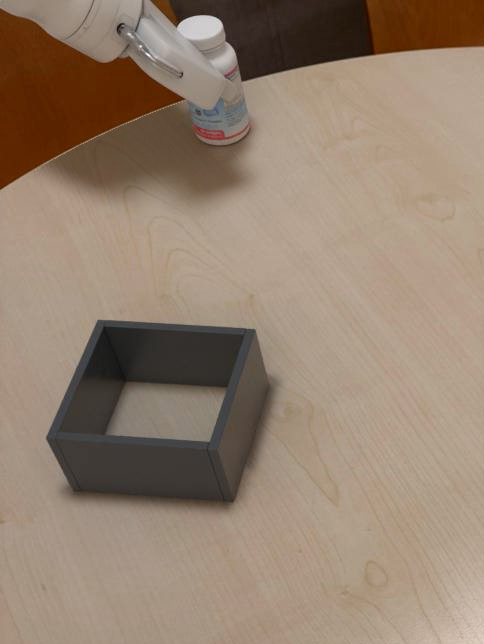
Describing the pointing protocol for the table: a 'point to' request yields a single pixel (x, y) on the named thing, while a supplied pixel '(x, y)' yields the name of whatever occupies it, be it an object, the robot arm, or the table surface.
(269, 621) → the table surface
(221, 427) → the open box
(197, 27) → the pill bottle
